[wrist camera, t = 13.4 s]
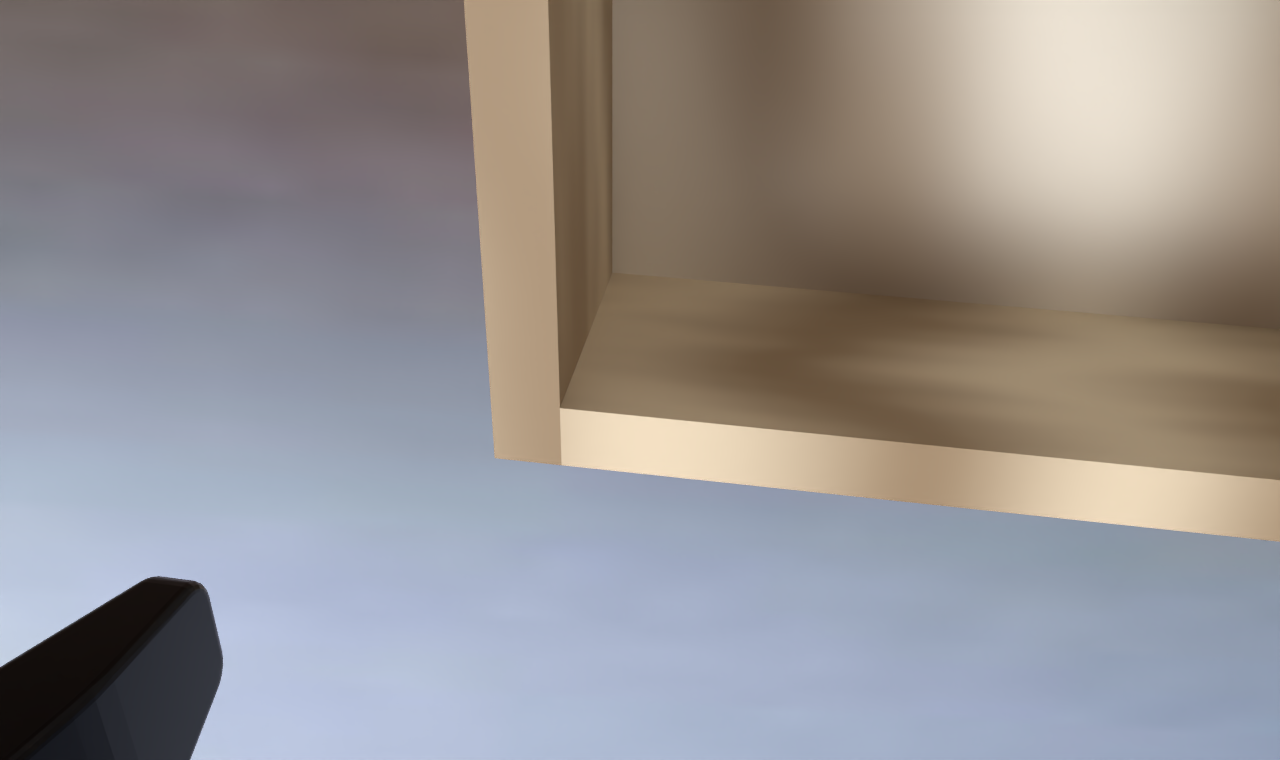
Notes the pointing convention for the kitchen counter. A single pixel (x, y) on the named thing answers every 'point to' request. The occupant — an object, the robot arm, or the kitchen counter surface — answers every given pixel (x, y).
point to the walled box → (891, 248)
